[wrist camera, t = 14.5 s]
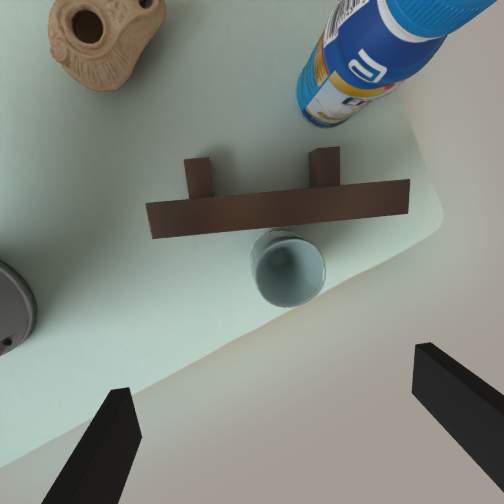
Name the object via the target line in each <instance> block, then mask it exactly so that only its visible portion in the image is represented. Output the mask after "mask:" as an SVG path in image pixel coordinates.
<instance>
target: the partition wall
mask: <svg viewBox="0 0 504 504" xmlns="http://www.w3.org/2000/svg"><path fill="white" fill-rule="evenodd" d="M184 165H185V171H186V178H187V185H188V192H189V199H186V200H175V201H164V202H153V203H146V209H147V215H148V220H149V225H150V230H151V236H152V239H159V238H169V237H179V236H189V235H199V234H209V233H219V232H229V231H239V230H249V229H259V228H270V227H280V226H290V225H300V224H310V223H320V222H330V221H340V220H350V219H360V218H370V217H380V216H390V215H400V214H408V208H409V192H410V179H404V180H393V181H382V182H371V183H360V184H349V185H340V147H328V148H316V149H315V150H313V151H311V152H310V153H309V178H310V188H306V189H295V190H284V191H273V192H262V193H251V194H240V195H229V196H219V197H216V195H215V187H214V179H213V170H212V162H211V160H210V158H209V157H208V158H196V159H184Z"/></svg>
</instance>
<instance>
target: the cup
mask: <svg viewBox="0 0 504 504" xmlns="http://www.w3.org/2000/svg"><path fill="white" fill-rule="evenodd" d="M251 268H252V274H253V278H254V282H255V284H256V287H257V289H258V291H259V293H260V294H261V296H262V297H263V298H264V299H265V300H266V301H267V302H269V303H270V304H272V305H275V306H277V307H284V308H285V307H295V306H299V305H302V304H305V303H307V302H308V301H310V300H312V299H313V298H314V297H315V296H317V294H318V293H319V292H320V291H321V289H322V287H323V285H324V281H325V276H326V268H325V262H324V259H323V257H322V255H321V253H320V251H319V250H318V248H317V247H316V246H315V245H314V244H313V243H312V242H310V241H309V240H308V239H306V238H304V237H302V236H300V235H298V234H296V233H294V232H291V231H286V230H276V231H271V232H269V233H266V234H264V235H263V236H261V237H260V238H259V239H258V240H257V241H256V242H255V244H254V246H253V248H252V251H251Z"/></svg>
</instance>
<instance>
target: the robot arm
mask: <svg viewBox="0 0 504 504" xmlns="http://www.w3.org/2000/svg"><path fill="white" fill-rule="evenodd" d="M35 321H36V305H35V301H34V298H33V295H32V293H31V291H30V289H29V287H28V286H27V284H26V283H25V282H24V280H23V279H22V278H21V277H20V276H19V275H18V274H17V273H16V272H15V271H14V270H13V269H11V268H10V267H9V266H7V265H6V264H4V263H2V262H0V356H1V355H3V354H6V353H7V352H9V351H11V350H12V349H14V348H15V347H17V346H18V345H19V344H21V343H22V342H23V341H24V340H25V339H26V338H27V337H28V336H29V335H30V333H31V332H32V330H33V327H34V325H35ZM412 394H413V395H414V396H415V397H416V398H417V399H418V400H419V401H420V402H421V403H422V405H423V406H424V407H425V408H426V409H427V410H428V411H429V412H430V413H431V414H432V415H433V417H434V418H435V419H436V420H437V421H438V422H439V423H440V424H441V425H442V426H443V427H444V428H445V430H447V432H448V433H449V434H450V435H451V436H452V437H453V438H454V439H455V440H456V441H457V442H458V444H459V445H460V446H461V447H462V448H463V449H464V450H465V451H466V452H467V453H468V454H469V455H470V456H471V457H472V459H473V460H474V461H475V462H476V463H477V464H478V465H479V466H480V467H481V468H482V469H483V471H484V472H485V473H486V474H487V475H488V476H489V477H490V478H491V479H492V480H493V481H494V482H495V483H496V485H497V486H498V487H499V488H500V489H501V490H502V491H503V492H504V395H503V394H501V393H500V392H498V391H497V390H496V389H494V388H493V387H492V386H490V385H489V384H488V383H486V382H485V381H483V380H482V379H481V378H479V377H478V376H476V375H475V374H474V373H472V372H471V371H470V370H468V369H467V368H465V367H464V366H463V365H461V364H460V363H459V362H457V361H456V360H454V359H453V358H452V357H450V356H449V355H448V354H446V353H445V352H443V351H442V350H441V349H439V348H438V347H436V346H435V345H434V344H432V343H431V342H429V343H423V344H417V345H415V357H414V369H413V382H412ZM141 439H142V435H141V431H140V427H139V423H138V420H137V416H136V412H135V408H134V404H133V401H132V396H131V393H130V389H129V387H127V388H121V389H114V390H111V391H110V392H109V394H108V395H107V397H106V399H105V400H104V402H103V404H102V405H101V407H100V408H99V410H98V412H97V413H96V415H95V417H94V418H93V420H92V422H91V423H90V425H89V427H88V428H87V430H86V431H85V433H84V435H83V436H82V438H81V440H80V442H79V443H78V445H77V446H76V448H75V449H74V451H73V453H72V454H71V456H70V457H69V459H68V461H67V462H66V464H65V466H64V467H63V469H62V471H61V472H60V474H59V476H58V477H57V479H56V480H55V482H54V484H53V485H52V487H51V489H50V490H49V492H48V493H47V495H46V497H45V498H44V500H43V502H42V504H118V502H119V499H120V497H121V494H122V491H123V488H124V486H125V483H126V480H127V477H128V475H129V472H130V469H131V466H132V463H133V460H134V458H135V455H136V452H137V450H138V447H139V444H140V441H141Z"/></svg>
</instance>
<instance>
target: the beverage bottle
mask: <svg viewBox="0 0 504 504" xmlns="http://www.w3.org/2000/svg"><path fill="white" fill-rule="evenodd" d="M496 1H497V0H339V1H338V2H337V4H336V5H335V7H334V9H333V10H332V12H331V14H330V16H329V18H328V21H327V23H326V26H325V29H324V31H323V33H322V35H321V37H320V39H319V41H318V43H317V45H316V47H315V48H314V50H313V52H312V54H311V56H310V58H309V60H308V62H307V64H306V65H305V67H304V68H303V70H302V72H301V74H300V76H299V78H298V82H297V86H296V101H297V105H298V108H299V110H300V112H301V114H302V115H303V117H304V118H305V119H306V120H307V121H308V122H309V123H311V124H312V125H314V126H317V127H321V128H331V127H335V126H338V125H340V124H341V123H343V122H345V121H346V120H347V119H349V118H350V117H351V116H352V115H353V114H354V113H356V112H357V111H359V110H360V109H362V108H363V107H365V106H366V105H367V104H369V103H370V102H372V101H373V100H375V99H378V98H381V97H383V96H385V95H387V94H388V93H390V92H392V91H393V90H394V89H396V88H397V87H398V86H399V85H400V84H401V83H403V82H404V81H405V80H406V79H407V78H409V77H411V76H412V75H414V74H415V73H417V72H418V71H419V70H420V69H421V68H423V67H424V66H425V65H426V64H427V63H428V61H429V60H430V59H431V58H432V57H433V55H434V54H435V53H436V52H437V51H438V49H439V48H440V46H441V45H442V43H443V42H444V40H445V38H446V37H447V35H448V34H450V33H452V32H454V31H455V30H457V29H459V28H460V27H461V26H463V25H464V24H466V23H467V22H469V21H470V20H471V19H473V18H474V17H476V16H477V15H478V14H479V13H481V12H482V11H483V10H485V9H486V8H488V7H489V6H490V5H491V4H493V3H494V2H496Z"/></svg>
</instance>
